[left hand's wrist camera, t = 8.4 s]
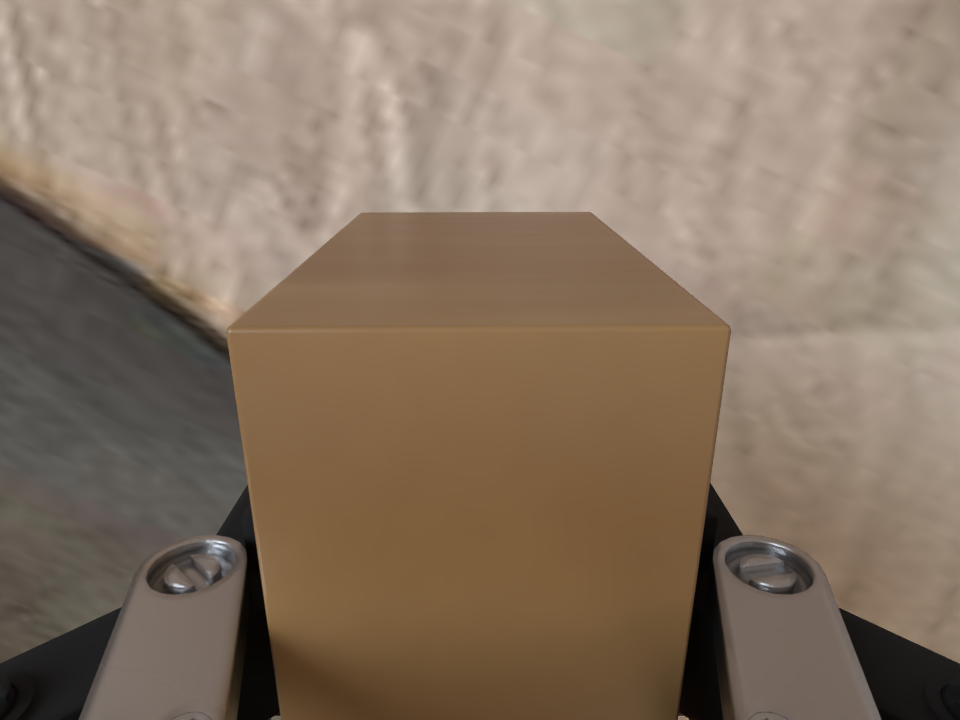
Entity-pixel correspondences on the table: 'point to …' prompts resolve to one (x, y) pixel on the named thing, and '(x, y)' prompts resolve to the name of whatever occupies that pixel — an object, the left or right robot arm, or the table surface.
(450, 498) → the bar
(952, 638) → the table surface
